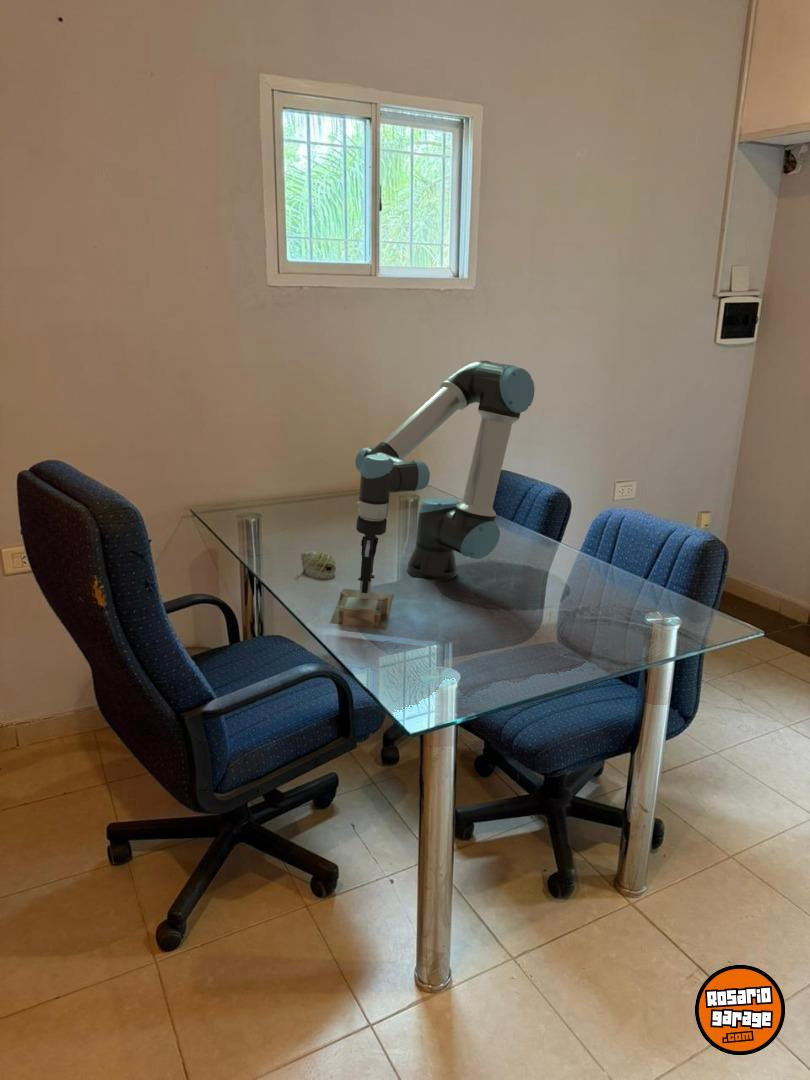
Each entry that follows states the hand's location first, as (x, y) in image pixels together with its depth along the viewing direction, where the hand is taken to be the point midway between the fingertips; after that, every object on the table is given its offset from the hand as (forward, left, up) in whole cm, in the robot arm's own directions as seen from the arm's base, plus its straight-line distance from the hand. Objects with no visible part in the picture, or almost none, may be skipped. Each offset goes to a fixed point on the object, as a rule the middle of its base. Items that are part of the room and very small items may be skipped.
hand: (363, 602), depth 196 cm
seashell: (+16, -21, -3) cm, 26 cm away
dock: (0, +1, -2) cm, 3 cm away
